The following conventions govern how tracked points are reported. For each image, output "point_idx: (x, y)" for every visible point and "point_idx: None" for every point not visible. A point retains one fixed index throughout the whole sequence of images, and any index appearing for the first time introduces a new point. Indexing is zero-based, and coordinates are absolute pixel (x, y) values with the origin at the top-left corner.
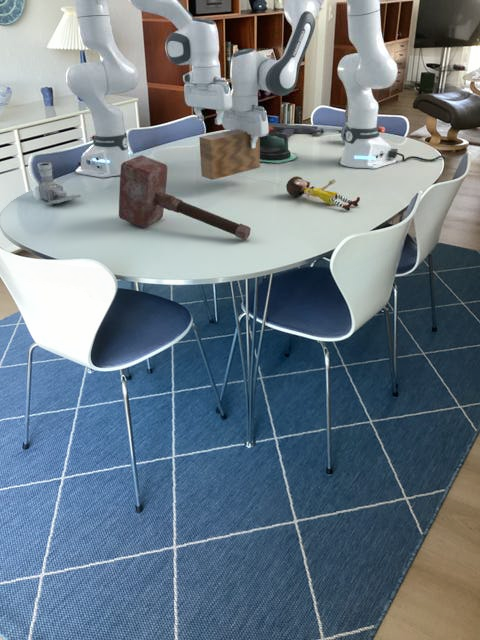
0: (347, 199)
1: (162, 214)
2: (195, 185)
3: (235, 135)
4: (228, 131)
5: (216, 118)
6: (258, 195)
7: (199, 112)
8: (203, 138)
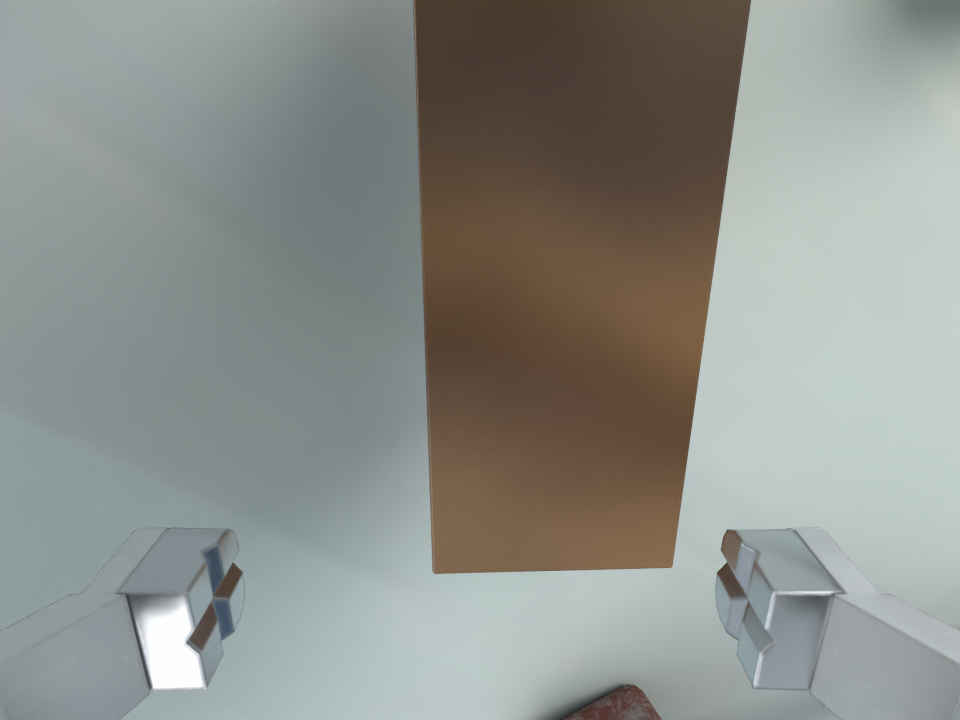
0: None
1: (649, 702)
2: (263, 261)
3: (728, 127)
4: (452, 39)
5: (823, 698)
6: (770, 80)
7: (55, 687)
8: (523, 569)
